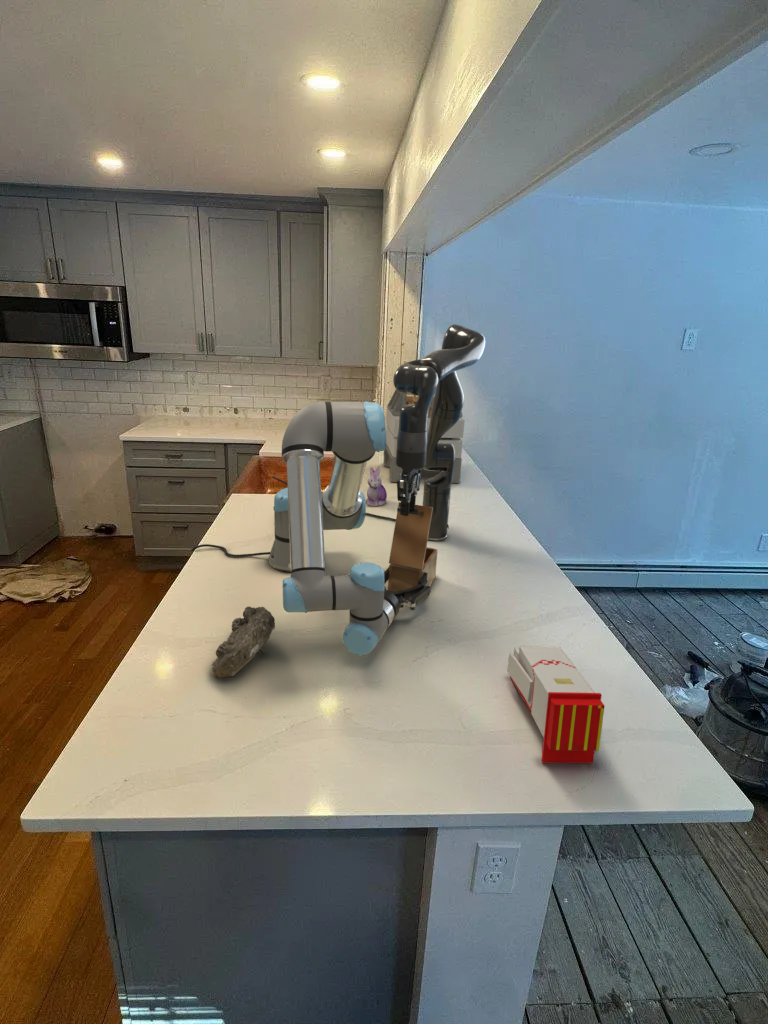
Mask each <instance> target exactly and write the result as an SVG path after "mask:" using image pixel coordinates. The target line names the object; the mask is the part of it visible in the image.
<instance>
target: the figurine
mask: <svg viewBox="0 0 768 1024" xmlns="http://www.w3.org/2000/svg"><path fill="white" fill-rule="evenodd" d="M381 469H382V468H381V466H378V467H377V468H376V469H375V470H374V468H373V467H372V466H370V467H369V477H368V479H367V484H368V488H367V491H366V497H367V498H366V500H365V501H366V505H367V506H370V507H377V506H383V505H385V504H386V502H387V496H388V494H387V493H388V492H387V490H386V488H385V486H384V485H383V484H382V478H381V475H380V474H381Z"/></svg>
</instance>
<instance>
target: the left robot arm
mask: <svg viewBox="0 0 768 1024" xmlns="http://www.w3.org/2000/svg"><path fill="white" fill-rule="evenodd" d="M386 426H387V425H386V416H385V411H384V408H383V406H382V405H381V404H380V403H379V402H373V401H371V402H370V401H365V400H364V401H321V400H320V401H314V402H310V403H309V404H307V405H305V406H303V407H302V408H301V409H300V410H298V411H297V412H296V413H295V415H293V417H292V418H291V420H290V421H289V423H288V425H287V427H286V429H285V432H284V433H283V438H282V442H281V461H282V462H283V463H284V464H286V483H287V485H286V486H287V487H285V488H282V489H280V490H279V491H277V492H276V493H275V495H274V497H273V498H274V499H273V508H272V509H273V511H274V513H273V514H274V540H273V544H272V546H271V550H270V551H265V552H255V553H243V554H242V553H241V554H233V553H229V552H228V550H227V549H226V547H224V546H222V545H216V544H209V543H206V544H204V543H203V544H198V545H195V546H194V547H192V548H191V549H190V551H191V552H193V551H195V550H197V549H199V548H204V547H209V548H215V549H221V550H223V552H224V553H225V555H226V556H228V557H232V558H244V557H256V556H265V555H268V559H269V560H268V561H269V562H268V563H269V565H270V567H272V568H273V569H275V570H277V571H280V572H286V573H287V572H288V573H290V576H289V577H285V578H283V579H282V581H281V582H282V583H281V584H282V607H283V610H284V611H285V612H287V613H304V614H307V613H312V612H313V613H314V612H329V611H347V610H348V611H349V612H348V613H349V617H348V618H349V622H348V624H347V625H346V626H345V628H344V630H343V633H342V644H343V645H344V647H345V649H346V650H347V651H348V652H350V653H351V654H353V655H356V656H359V657H361V656H362V657H363V656H367V655H369V654H370V653H371V652H372V651H374V649H375V648H376V647H377V646H378V644H379V642H380V641H381V639H382V638H383V636H384V635H385V633H386V632H387V630H388V628H389V627H390V625H391V624H392V622H394V620H395V619H396V617H397V615H398V614H399V612H400V610H401V609H403V608H404V607H409V610H410V611H415V610H416V608H417V606H419V604H421V603H422V602H424V601H425V600H426V599H428V598H429V597H430V596H431V585H430V586H427V584H428V581H427V574H428V573H426V572H425V573H424V574H423V576H422V577H421V579H420V580H419V582H418V585H416V586H414V587H411V588H409V589H406V590H403V589H402V590H399V591H391V590H388V589H387V587H386V585H385V584H386V583H387V582H388V579H389V566H388V567H387V568H386V569H385V570H384V569H383V568H382V567H381V566H380V565H379V564H376V563H374V562H360V563H355V564H354V565H352V567H351V568H350V572H349V574H339V575H337V574H336V575H327V574H326V573H327V572H326V556H325V555H326V554H325V553H326V552H325V536H324V531H335V530H337V531H338V530H346V531H351V530H356V529H359V528H361V527H362V526H363V524H364V522H365V519H366V515H365V513H367V502H366V501H367V500H366V496H365V494H364V492H362V491H360V490H361V487H362V482H363V478H364V474H365V470H366V466H367V463H368V462H369V461H370V460H371V459H372V458H373V457H374V456H375V454H376V453H381V452H384V450H385V448H386ZM325 452H326V453H327V452H332V454H333V455H334V456H333V461H332V466H331V473H330V480H329V484H328V485H327V486H326V487H325V489H324V490H323V491H322V479H321V463H322V462H323V461H324V459H325Z"/></svg>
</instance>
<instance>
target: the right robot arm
mask: <svg viewBox="0 0 768 1024" xmlns="http://www.w3.org/2000/svg"><path fill="white" fill-rule="evenodd" d="M485 347H486V338H485V336H484V335H483V334H482V333H481V332H479V331H476V330H473V329H471V328H468V327H465V326H463V325H460V324H455V323H453V324H451V325H450V326H449V327H448V328H447V330H446V331H445V333H444V336H443V339H442V344H441V348H440V349H436V350H434V351H432V352H430V353H429V354H427V355H425V356H423V357H422V358H418V359H414V360H410V361H407V362H404V363H403V364H400V365H399V367H397V369H395V372H394V374H393V381H392V382H393V386H394V389H395V390H397V391H398V392H400V393H402V394H407V396H415V397H417V396H418V400H417V402H416V404H409V405H404V406H402V407H401V409H400V413H399V430H398V436H397V450H396V465H397V466H398V467H400V468H402V470H403V471H402V474H401V475H400V480H397V482H396V494H397V501H398V502H401V506H400V514H401V515H403V516H408V515H409V508H412V509H415V505H416V503H417V502H416V501H417V495H418V492H419V491H420V489H421V479H422V472H423V470H424V471H432V472H439V473H437V474H435V475H434V476H431V477H429V478H427V479H425V480H424V482H423V493H422V496H423V497H422V506H427V507H433V511H432V517H431V523H430V529H429V535H428V541H432V542H440V541H444V540H446V539H447V538H448V530H449V528H450V526H449V517H450V516H449V514H450V504H451V494H452V493H451V491H452V484H453V483H452V476H453V468H454V462H455V449H454V446H453V445H452V444H450V443H438V442H439V440H440V438H441V437H442V436H443V435H444V434H445V433H446V432H447V431H449V430H450V429H451V428H452V427H453V426H454V425H455V424H456V423H457V421H458V420H459V418H460V416H461V412H462V413H463V408H464V403H465V394H464V390H463V387H462V385H461V381H460V380H459V378H458V374H457V371H460V370H463V369H465V368H469V367H471V366H473V365H475V364H476V363H477V362H478V361H479V360H480V358H481V357H482V355H483V353H484V350H485ZM433 397H434V399H433ZM432 400H433V405H432V410H431V417H430V423H429V428H428V432H427V424H428V414H429V410H430V406H431V403H432ZM440 471H441V472H440ZM271 478H272V479H274V480H275V481H278V482H280V483H282V484H284V485H286V486H287V481H284V480H282V479H280V478H278V477H276V476H274V475H273V476H272V477H271ZM365 516H369V517H374V518H379V519H383V520H389V521H393V522H396V518H393V517H388V516H382V515H380V514H379V515H378V514H374V513H369V512H366V513H365Z"/></svg>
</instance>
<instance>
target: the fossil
mask: <svg viewBox="0 0 768 1024" xmlns="http://www.w3.org/2000/svg"><path fill="white" fill-rule="evenodd" d="M275 628H276V620H275V617H274V615H273V613H272V612H271V611H269V610H268V609H266V607H265V606H258V607H257V606H256V607H252V606H246V607H244V611H243V612H242V617H236V618H234V619H233V621H232V622H231V631H232V632H231V633H230V634H229V636H228V638H227V640H224V641H223V642H222V644H219V645H218V647H217V648H216V650H215V656H216V657H217V658H216V660H215V661H214V662H213V663H212V664H211V665H212V667H211V669H212V676H213V677H218V678H219V679H222V678H226V677H232V676H234V675H235V676H236V674H237V673H238V672H239V671H240V670H241V669H243V668H244V667H245V666H246V665H247V664H248V663H249V662H250V661H251V660H252V659H254V657H255V656H256V653H258V652H259V653H260V654H261V655H262V656H264V655H265V652H264V651H263V650H262V649H261V648H262V647H263V645H264V644H265V643H267V641H268V640H269V639H270V636H271V634H272V633H273V631H274V630H275Z"/></svg>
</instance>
